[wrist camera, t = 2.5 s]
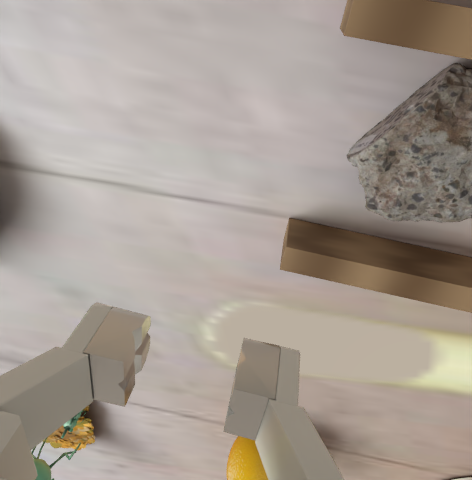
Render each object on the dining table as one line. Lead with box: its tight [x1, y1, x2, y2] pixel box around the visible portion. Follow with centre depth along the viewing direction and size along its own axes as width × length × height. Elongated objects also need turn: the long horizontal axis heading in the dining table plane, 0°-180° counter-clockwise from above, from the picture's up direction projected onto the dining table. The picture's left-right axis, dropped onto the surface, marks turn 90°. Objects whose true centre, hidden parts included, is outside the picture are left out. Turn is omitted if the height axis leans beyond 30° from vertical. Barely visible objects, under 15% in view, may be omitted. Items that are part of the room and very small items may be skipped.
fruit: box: [227, 436, 268, 480], centre depth 43 cm, size 9×8×8 cm
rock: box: [347, 63, 472, 222], centre depth 24 cm, size 9×11×4 cm
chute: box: [280, 0, 472, 313], centre depth 24 cm, size 18×17×4 cm
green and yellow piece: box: [30, 404, 95, 480], centre depth 48 cm, size 10×18×15 cm, turn 130°
